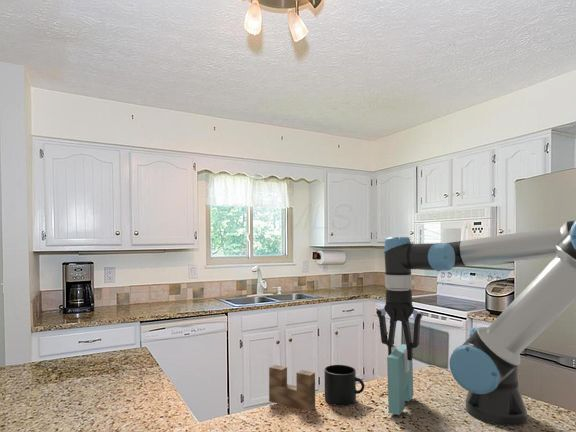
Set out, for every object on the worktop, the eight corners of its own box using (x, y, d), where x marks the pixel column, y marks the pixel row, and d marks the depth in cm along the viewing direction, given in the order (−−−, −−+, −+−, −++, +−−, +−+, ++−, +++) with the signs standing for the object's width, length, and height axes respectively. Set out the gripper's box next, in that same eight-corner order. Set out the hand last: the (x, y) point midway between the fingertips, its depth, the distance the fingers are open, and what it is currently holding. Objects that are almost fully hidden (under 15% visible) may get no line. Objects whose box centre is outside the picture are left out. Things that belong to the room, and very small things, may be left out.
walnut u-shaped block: (315, 407, 112) (315, 372, 113) (310, 411, 110) (310, 375, 110) (274, 397, 119) (274, 364, 120) (269, 401, 117) (269, 367, 117)
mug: (363, 409, 111) (362, 376, 112) (322, 404, 114) (321, 373, 115) (365, 396, 120) (365, 366, 121) (327, 392, 124) (327, 363, 124)
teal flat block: (403, 393, 120) (402, 344, 121) (413, 395, 119) (411, 345, 120) (388, 412, 107) (387, 357, 108) (399, 415, 105) (397, 358, 106)
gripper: (429, 289, 114) (432, 370, 113) (376, 286, 122) (377, 362, 121) (423, 291, 108) (426, 378, 106) (368, 288, 116) (370, 369, 114)
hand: (400, 369), depth 113 cm, fingers closed on teal flat block, 3 cm apart
